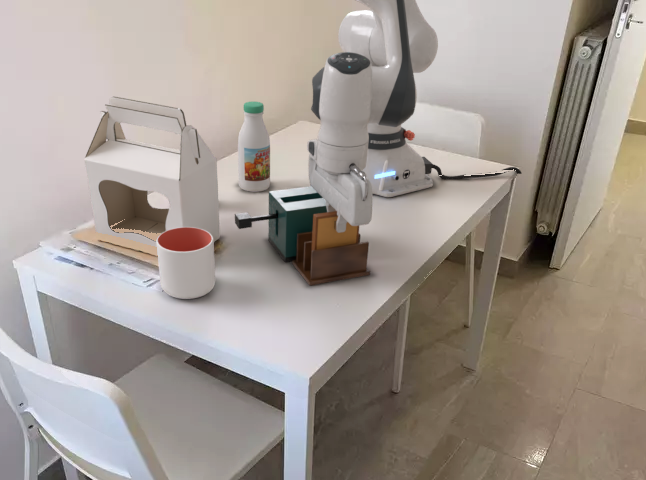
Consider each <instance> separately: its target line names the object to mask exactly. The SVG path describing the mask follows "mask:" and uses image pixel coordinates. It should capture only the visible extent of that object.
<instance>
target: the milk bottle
mask: <svg viewBox="0 0 646 480" xmlns="http://www.w3.org/2000/svg"><path fill="white" fill-rule="evenodd" d="M264 106H265V105H264V104H263V102H260V101H246V102H245V103H243V115H244V119H243V122H242V125H241V128H240V130H239V133H238V137H237V173H238V175H237V178H238V180H237V181H238V186H239V188H240V190H244V191H245V192H263V191H266V190H268V189H269V188H270V186H271V139H270V134H269V131H268V129H267V127H266V124H265V121H264V111H265V107H264Z"/></svg>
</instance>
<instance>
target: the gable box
mask: <svg viewBox="0 0 646 480" xmlns="http://www.w3.org/2000/svg"><path fill="white" fill-rule="evenodd" d="M104 106H105V109H106V110H107V111H105V110H101V111H99V112H100V113H99V114H100V120H99V123H98V125H97V128H96V130H95V133H94V135H93V138H92V140H91V142H90V145H89V146H88V150H87V152H86V154H85V157H84V168H85V173H86V179H87V185H88V190H89V192H88V193H89V197H90V198H89V199H90V204H91V211H92V216H93V217H92V218H93V223H94V230H95V233H96V232H98V233H102V234H108V235H112V236H116V237H121V238H125V239H129V240H133V241H136V242H140V243H143V244H147V245H151V246H155V247H157V246H156V241H154V240H152V239H150V238H148V237H146V236H144V235H142V234H139V233H134V232H124V233H119V232H115V231H114V230H112V229H116V228H117V229H118V228H119V229H121V228H122V229H123V228H124V229H129V230H130V229H132V230H134V229H135V230H141V231H143V232H145V231H146V232H149V233H151V232H152V233H156V234H157V233H163V232H165V231H167V230H170V229H174V228H180V227H194V228H200V229H203V230H206V231H207V232H209V233H210V234H211V235H212V236H213V241H214V243H215V242H217V240H220V238H221V230H220V229H221V228H220V227H221V226H220V207H219V206H220V205H219V204H220V203H219V186H218V185H219V184H218V181H219V180H218V160H217V159H218V158H217V157H216V156H215V154H214V152H213V151H212V150H211V149H210V147H209V146H208V145H207V143H206V142H205V140H204V139H203V138H202V136H201V135H200V133H199V132H198V130H197V128H195V127H194V126H193V125H192V124H187V121H186V117H185V113H184V111H183V109H182V108H179V107H176V106H175V107H174V106H168V105H163V104H157V103H152V102H146V101H142V100H141V101H140V100H135V99H132V98H131V99H130V98H125V97H120V96H119V97H118V96H112V97H110V98H109V99H108V104H104ZM121 124H126V125H131V126H135V127H141V128H142V127H143V128H146V129H152V130H157V131H162V132H167V133H173V134H175V135H180V149H177V148H173V147H168V146H167V147H166V146H162V145H158V144H152V143H147V142H142V141H138V140H132V139H128V138H126V136H125V133H124V131H123V127H122V125H121ZM148 192H154V193H157V194H160V195H161V196H164V197H165V198H166V199H167V201H168V203H169V206H168V207H169V208H157V207H154V206H152V205H151V204H150V203H149V200H148ZM124 219H125V220H124ZM122 220H123V221H122ZM120 221H122V222H120ZM118 222H120V223H118ZM115 223H118V224H117V225H115V226H113V227H112V229H111V227H110V226H111V225H114V224H115Z"/></svg>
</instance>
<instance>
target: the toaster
mask: <svg viewBox="0 0 646 480" xmlns="http://www.w3.org/2000/svg"><path fill="white" fill-rule="evenodd" d="M326 212H327V208H326V200H325V199H324V198H323V197H322V196H321V195H320V194H319V193H318V192H317V191H316V190H315V189H314V188H313V187H311V185H307V186H300V187H293V188H284V189H277V190H276V189H275V190H269V191H268V215H269V214H276V213H278V218H276V219H269V220H268V240H267V241H268V243H270V245H271V246H272V247H273V248H274V250H275V251H276V252H277V253H278V255H279V256H280V257H281V259H282V260H283V261H284V263H289V262H292V260H296V256H297V234H299V233H305V232H312V231H313V214H318V213H326Z"/></svg>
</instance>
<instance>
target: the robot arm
mask: <svg viewBox="0 0 646 480" xmlns="http://www.w3.org/2000/svg"><path fill="white" fill-rule="evenodd" d="M355 1H356V2H358V3H359V4H362V5H364V6H365V7H367V8H369V9H359V10H353V11H351V12H348V13H347V14H346V15H345V16H344V17H343V19H342V20H341V22H340V25H339V29H338V35H337V36H338V37H337V38H338V45H339V48H340V49H341V51H342V52H337V53H333V54H331V55H330V56H328V57H327V58H326V60H325V64H324V66H323V67H322V68H320V69H319V71H318V72H316V74H315V75H313V77H312V79H311V85H312V105H311V107H310V110H311V112H312V113H313V114H314V115H315V116H316V118H317V119H318V120H319V121H320V126H319V130H318V132H317V138H312V139H308V140H307V145H306V149H307V152H308V153H309V154H308V168H307V169H308V170H307V171H308V181H309V184H310V185H309V186H311V187H313V188H314V189H315V190H316V191H317V192H318V193H319V194H320V195H321V196H322V197H323V198H324V199H325V200H326V208H327V212H334V211H337V215H338V218H337V221H334V229H335V230H336V231H337V232H338V233H340V232H345V230H346V223H347V222H348V223H349V224H350V225H352V226H359V227H361V226H366V225H369V224H370V223H371V221H372V218H373V199H374V198H373V195H376V196H381V197H384V198H392V197H397V196H400V195H405V194H409V193H412V192H417V191H422V190H425V189H429V188H432V187H433V186H434V180H433V178H432V177H431V176H430V175H431V174H432V171H433V169H434V170H436V172H437V175H438V177H439V178H440V179H442V180H451V181H452V180H453V181H455V180H463V179H476V178H478V179H479V178H489V177H496V176H500V175H502V174H506V172H504V173H495V174H485V175H471V176H464V175H465V174H459V175H453V176H452V175H451V176H450V175H445V174H443V172H442V168H441V167H440V166H438V165H436V164H433V162H431V161H430V160H429V159H428V158H427V157H426V156H421V155H420V153H418V152H417V151H416V150H415V149H414V148H413V147H412V146H411V145H409V144H408V143H407V141H406V139H407V140H408V141H409V142H411V141H413V140H414V139H415V137H416V134H415V133H414V131H411V130H410V129H408V130H407V129H406V128H404V127H402V125H403V124H404V123H405V122H406V121H408V120H409V119H410V118H411V117H412V116H413V115H414V113H415V111H416V106H417V101H418V100H417V99H418V91H417V85H416V80H415V75H414V74H420V73H423V72H425V71H426V70H427V69H428V68H430V66H432V64H433V62H434V61H435V59H436V56H437V53H438V48H439V43H438V42H439V40H438V35H437V33H436V31H435V29H434V28H433V27H432V26H431V25H430V24H429V23H428V21H427V20H426V19H425V17H424V15H423V12H421V10H420V8H419V7H420V6H419V5H418V3H417V1H416V0H355ZM513 169H514V171H513V172H515V173H516V174H517V175H521V174H522V171H521V170H520V169H519V168H518V167H516V166H509V167H506V168H503V169H502V170H513ZM515 170H516V171H515ZM442 174H443V175H442ZM439 175H442V176H439Z"/></svg>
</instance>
